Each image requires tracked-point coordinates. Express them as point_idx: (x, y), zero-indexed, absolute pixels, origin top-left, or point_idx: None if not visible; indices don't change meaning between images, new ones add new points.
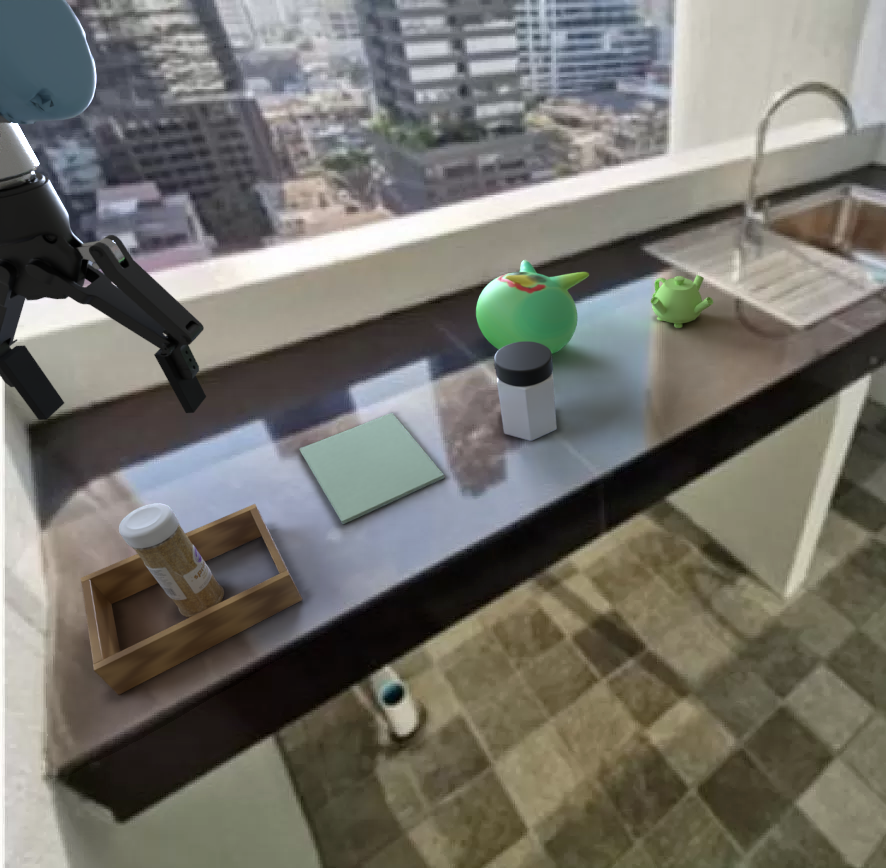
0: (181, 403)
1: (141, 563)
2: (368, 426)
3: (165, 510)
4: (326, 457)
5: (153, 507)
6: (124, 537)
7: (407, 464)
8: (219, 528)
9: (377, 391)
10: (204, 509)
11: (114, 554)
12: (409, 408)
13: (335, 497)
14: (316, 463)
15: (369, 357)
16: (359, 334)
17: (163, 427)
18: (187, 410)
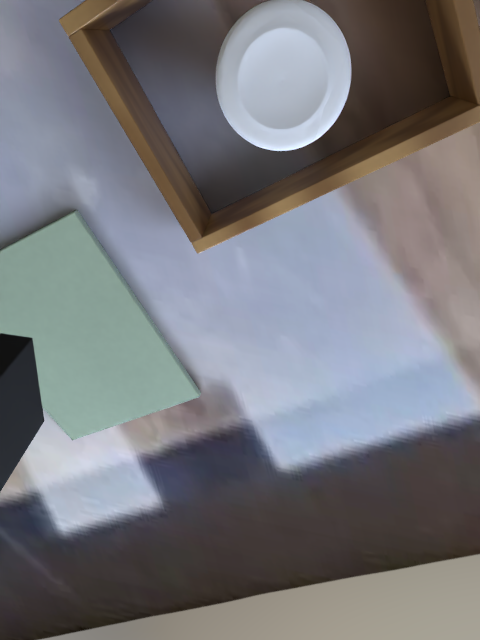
0: (3, 366)
1: (387, 143)
2: (100, 419)
3: (233, 106)
4: (148, 368)
5: (271, 127)
6: (325, 12)
7: (5, 323)
8: (256, 208)
9: (116, 488)
10: (329, 299)
11: (464, 226)
12: (53, 444)
13: (103, 273)
14: (161, 358)
15: (149, 553)
16: (178, 596)
17: (430, 486)
18: (16, 344)
